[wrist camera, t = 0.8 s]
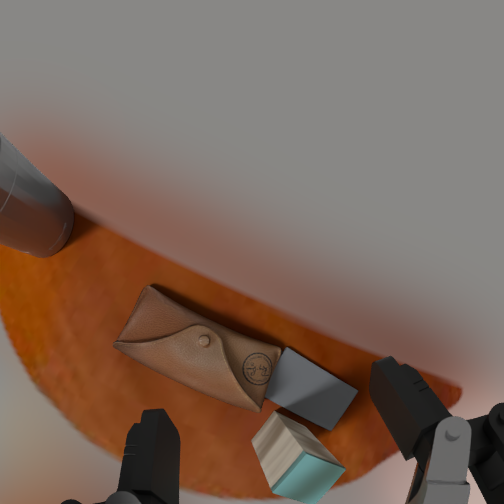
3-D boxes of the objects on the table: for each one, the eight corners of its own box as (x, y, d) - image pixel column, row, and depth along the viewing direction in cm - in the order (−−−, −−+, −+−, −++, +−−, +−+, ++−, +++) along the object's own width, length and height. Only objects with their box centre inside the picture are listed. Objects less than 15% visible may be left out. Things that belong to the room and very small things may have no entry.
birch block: (251, 440, 31) (272, 492, 19) (274, 410, 32) (306, 453, 20) (282, 455, 31) (314, 505, 19) (305, 426, 32) (346, 469, 20)
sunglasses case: (286, 345, 32) (287, 383, 26) (260, 384, 35) (257, 422, 28) (143, 280, 32) (115, 306, 25) (130, 326, 34) (106, 355, 27)
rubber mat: (255, 391, 32) (256, 391, 31) (286, 346, 33) (287, 347, 33) (329, 430, 32) (330, 431, 32) (356, 390, 34) (358, 390, 33)
